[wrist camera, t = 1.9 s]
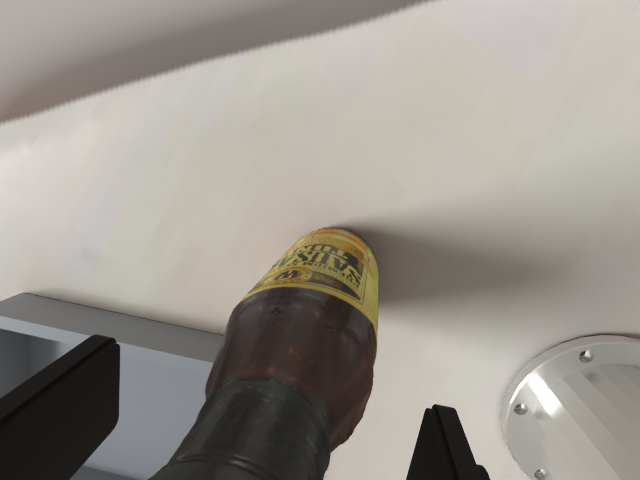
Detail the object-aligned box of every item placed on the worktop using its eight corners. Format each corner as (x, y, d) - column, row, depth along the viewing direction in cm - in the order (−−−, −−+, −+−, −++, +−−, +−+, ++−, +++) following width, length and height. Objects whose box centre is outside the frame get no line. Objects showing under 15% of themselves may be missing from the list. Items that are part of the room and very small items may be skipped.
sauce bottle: (371, 217, 24) (391, 459, 5) (382, 304, 25) (432, 763, 6) (277, 229, 25) (-11, 470, 6) (292, 312, 26) (96, 730, 7)
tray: (289, 349, 27) (277, 377, 24) (263, 513, 31) (250, 557, 28) (22, 292, 29) (-23, 310, 26) (30, 454, 33) (-9, 488, 30)
